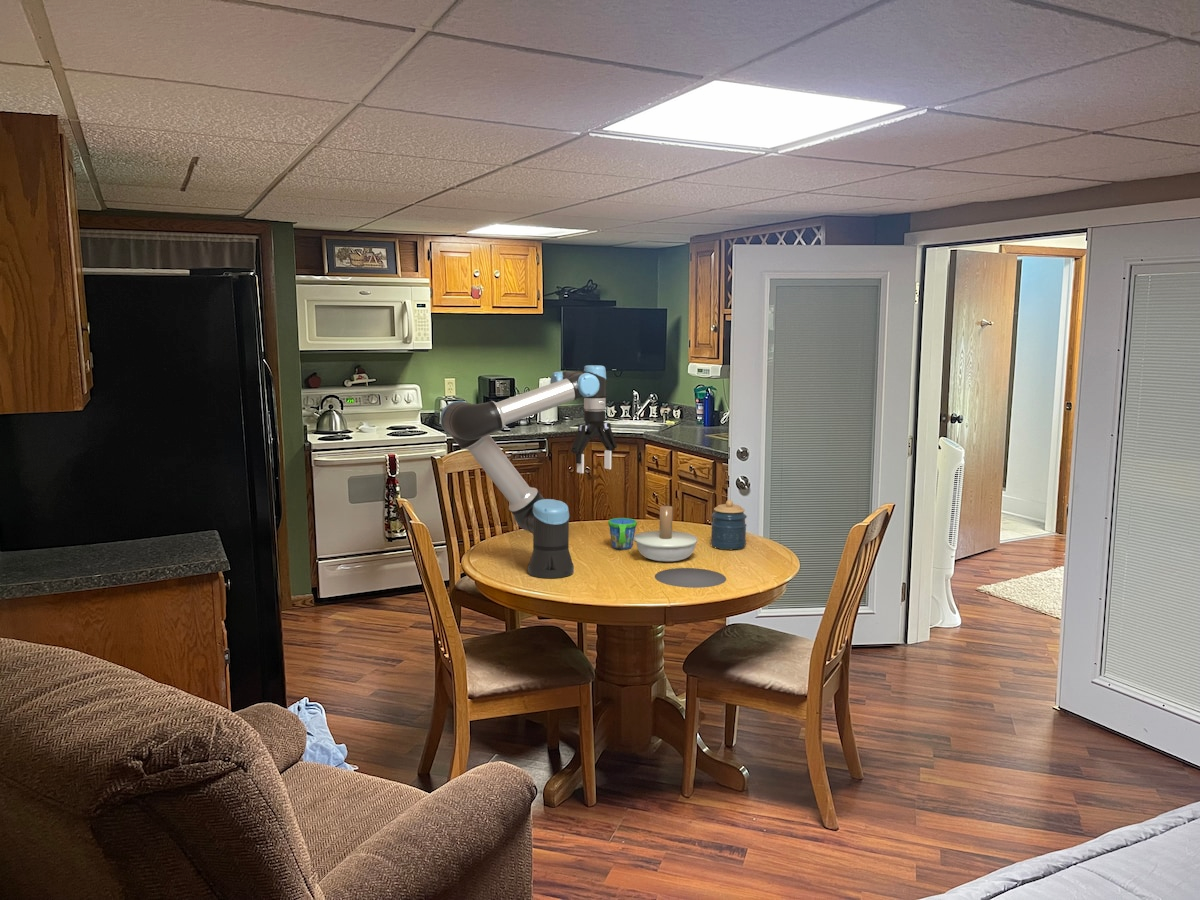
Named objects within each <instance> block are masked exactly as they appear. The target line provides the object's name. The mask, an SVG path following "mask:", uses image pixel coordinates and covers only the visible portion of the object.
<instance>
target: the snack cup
mask: <svg viewBox="0 0 1200 900" xmlns="http://www.w3.org/2000/svg"><path fill="white" fill-rule="evenodd" d="M607 524H608V526H609V534H610V541H611V547H612V548H613V549H614V550H615V549H617V550H620V549H622V550H623V549H625V550H629V549H632V548H633V545H634V536H635V535H636V527H637V526H638V521H637V520H636V519H634V518H630V517H629V518H627V517H615V518H610V519H608V521H607Z"/></svg>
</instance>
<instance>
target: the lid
mask: <svg viewBox="0 0 1200 900" xmlns="http://www.w3.org/2000/svg"><path fill="white" fill-rule="evenodd" d="M633 542H634V543H635V544H637V543H638V544H641V545H644V546H649V547H657V548H680V547H687V546H691V545H694V544H697V543H698V537H697V536H696V535H694V534H692V533H687V532H684V531H683V532H682V531H676V530H675V531H673V506H671V505H660V506H659V530H652V531H651V530H649V531H643V532H639V533H637V534H634V540H633Z"/></svg>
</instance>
